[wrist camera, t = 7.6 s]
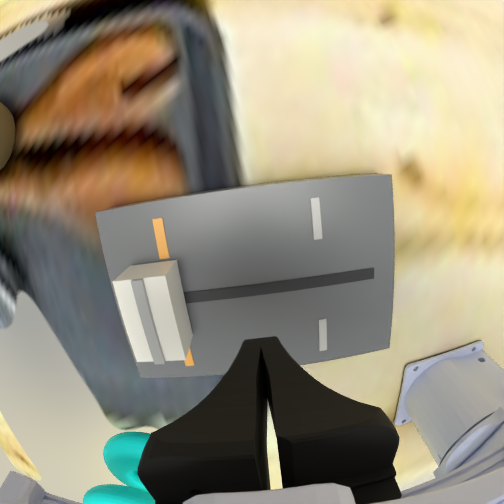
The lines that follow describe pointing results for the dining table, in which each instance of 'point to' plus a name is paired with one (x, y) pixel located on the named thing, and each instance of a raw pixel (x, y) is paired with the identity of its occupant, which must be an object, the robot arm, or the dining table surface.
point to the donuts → (122, 472)
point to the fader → (154, 311)
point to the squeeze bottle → (6, 134)
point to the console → (268, 266)
